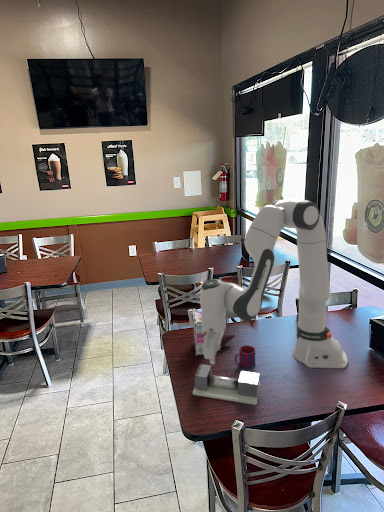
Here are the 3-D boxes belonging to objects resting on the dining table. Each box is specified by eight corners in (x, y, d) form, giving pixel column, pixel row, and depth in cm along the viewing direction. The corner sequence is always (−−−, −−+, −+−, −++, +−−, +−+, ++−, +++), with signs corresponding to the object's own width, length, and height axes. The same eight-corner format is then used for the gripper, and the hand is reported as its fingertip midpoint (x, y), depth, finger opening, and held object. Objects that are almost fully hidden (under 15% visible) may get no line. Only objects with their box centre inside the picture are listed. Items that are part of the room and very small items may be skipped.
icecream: (230, 326, 172) (201, 336, 167) (237, 330, 165) (207, 339, 160) (233, 340, 173) (204, 350, 168) (240, 344, 166) (210, 354, 161)
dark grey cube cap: (259, 386, 137) (259, 373, 135) (257, 397, 131) (257, 384, 129) (241, 383, 139) (241, 370, 137) (238, 394, 133) (238, 381, 131)
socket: (211, 378, 143) (211, 365, 141) (206, 391, 136) (206, 377, 134) (200, 376, 144) (200, 364, 142) (195, 389, 137) (194, 375, 135)
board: (259, 384, 140) (259, 382, 140) (256, 404, 129) (256, 402, 129) (200, 375, 147) (200, 373, 146) (192, 394, 136) (192, 392, 135)
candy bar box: (206, 355, 161) (205, 322, 156) (195, 355, 161) (194, 323, 156) (204, 342, 172) (203, 311, 167) (194, 342, 171) (193, 311, 167)
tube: (240, 385, 138) (240, 376, 137) (238, 392, 134) (238, 383, 133) (202, 380, 142) (202, 371, 141) (199, 386, 138) (199, 377, 137)
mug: (258, 365, 152) (258, 351, 150) (238, 371, 148) (238, 357, 146) (249, 357, 158) (249, 343, 156) (230, 363, 154) (229, 349, 152)
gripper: (216, 338, 120) (218, 373, 124) (227, 311, 139) (228, 343, 143) (198, 336, 122) (200, 371, 126) (211, 310, 141) (213, 341, 145)
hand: (215, 356), depth 135 cm, fingers open, 8 cm apart
